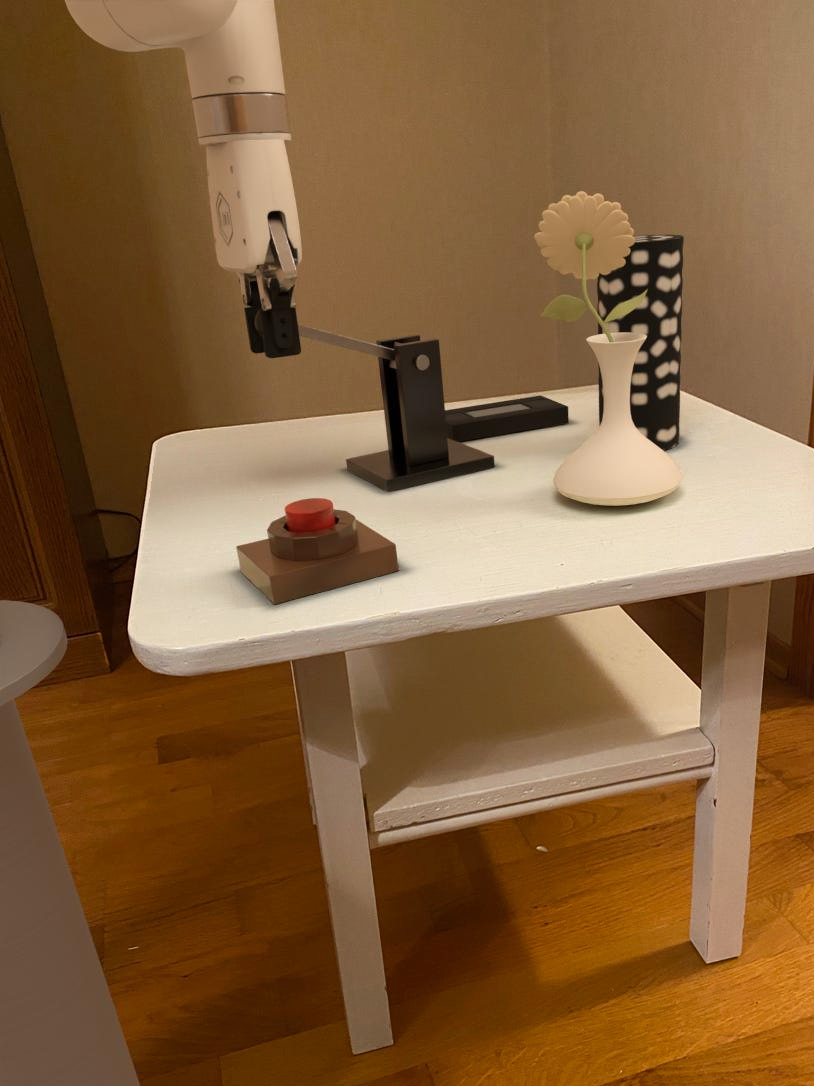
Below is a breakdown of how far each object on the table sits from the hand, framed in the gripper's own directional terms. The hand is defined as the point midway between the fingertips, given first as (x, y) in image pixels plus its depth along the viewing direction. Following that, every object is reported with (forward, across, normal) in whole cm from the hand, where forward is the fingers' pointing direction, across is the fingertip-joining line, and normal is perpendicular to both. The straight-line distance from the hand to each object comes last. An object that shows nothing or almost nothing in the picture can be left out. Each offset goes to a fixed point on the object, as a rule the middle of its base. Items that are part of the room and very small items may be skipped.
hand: (275, 351), depth 87 cm
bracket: (+13, 0, +13) cm, 19 cm away
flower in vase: (+14, +20, +22) cm, 33 cm away
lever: (+1, 0, +6) cm, 6 cm away
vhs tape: (+13, -9, +28) cm, 33 cm away
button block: (+14, +20, -6) cm, 25 cm away
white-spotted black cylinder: (+13, +8, +35) cm, 39 cm away
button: (+10, +20, -6) cm, 23 cm away
